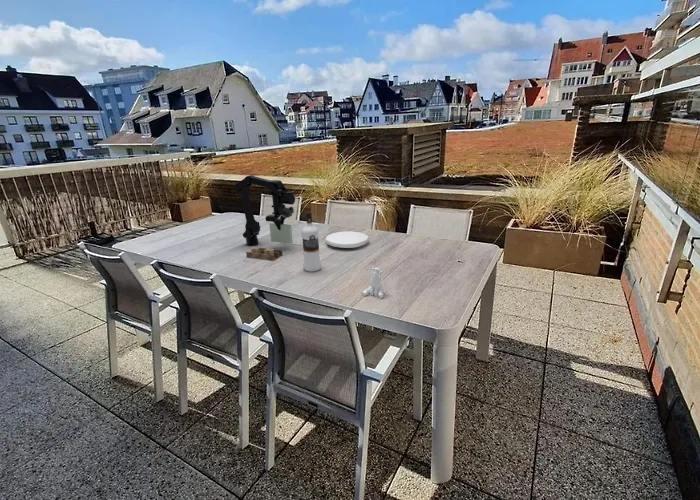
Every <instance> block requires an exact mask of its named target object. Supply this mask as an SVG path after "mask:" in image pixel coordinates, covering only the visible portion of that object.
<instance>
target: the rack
mask: <svg viewBox="0 0 700 500" xmlns="http://www.w3.org/2000/svg"><path fill="white" fill-rule="evenodd" d="M266 249H267V247H260V252H261V253H253V252H251V251H245V253H246V254H245V255H246V258H250V259H258V260H264V261H273V262H275V261H276V260H278V259H279V258H281V257H282V256H284V255H283V253H284V252H283V250H282V249H274V248H273V249H274V255H269V254H265V252H264V250H266Z"/></svg>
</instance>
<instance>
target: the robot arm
mask: <svg viewBox="0 0 700 500" xmlns="http://www.w3.org/2000/svg"><path fill="white" fill-rule="evenodd" d="M253 185H257V186H260V187H263V188H266V189H267V190H268V191H270V192H269V193H268V195H269V196H271V197H272V205H271V208H272V209H273V212H272V214H268V215H267V216H265V221H266V222H270V223H275V225H276V226H277V228H278V230H281V224H285V220H286V219H287V218H290V217H292V216H293V214H294V213H295V209H294V207H293V206H290V207H286V205H294V204H295V203H296V197H295V195H294V194H293V192H292V191H288V190H287V189H286V187H285V185H284V183H283V182H282V180H278V179H277V180H276V179H271V180H270V179H266V178H262V177H258V176H255V175H252V174H251V175H246V176H245V177H244V178H243V179H241V180H240V181H238V182H236V183H235V185H234V190H235V193H236V195H237V196H238V197H239V198H240V200H241V205H242V208H243V209H242V210H243V212H244V213H243V214H244V216H245V221H246V222H245V225H244V227H245V231H244V232H243V234H242V237H243V238H244V239H245V242H246V245H247V246H249V247H250V246H251V247H256V246H258V245H259V238H258V236H259V235H260V232H261V225H260V222H259V221H257V220H256V219H255V215H254V211H253V206H252V203H251V199H250V192H251V187H252V186H253Z"/></svg>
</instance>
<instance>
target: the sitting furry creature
mask: <svg viewBox="0 0 700 500" xmlns="http://www.w3.org/2000/svg"><path fill="white" fill-rule="evenodd" d="M370 274H371V275H370V276H371V278H370V280H369V286H368V287H367V288H365V289H364V290H363V291H362V292H361V296H364V297H366V296H374V297H377V298H379V299H380V300H381V299H383V298H384V290H383V284H382V281H381V279H380V277H381V276H382V275H383V274H384V270H381V268H378V267H371V271H370Z"/></svg>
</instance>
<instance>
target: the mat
mask: <svg viewBox="0 0 700 500" xmlns="http://www.w3.org/2000/svg"><path fill="white" fill-rule="evenodd" d="M280 244H283V245H287V243H280ZM290 245H292V246H296V244H294V243H292V244H289V246H290ZM298 246H301V247H303V244H298Z"/></svg>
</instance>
